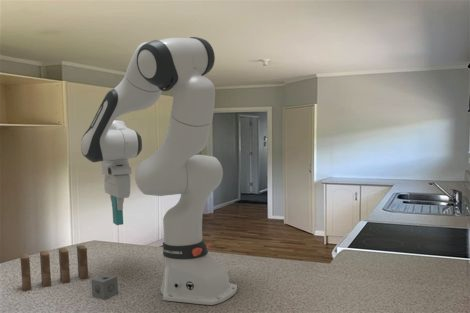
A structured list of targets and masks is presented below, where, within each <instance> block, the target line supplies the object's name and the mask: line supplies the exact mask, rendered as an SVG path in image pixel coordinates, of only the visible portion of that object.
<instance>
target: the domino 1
mask: <svg viewBox="0 0 470 313" xmlns="http://www.w3.org/2000/svg"><path fill="white" fill-rule="evenodd" d="M19 257H20V270H21V271H20V273H21V285H22V291H23V292H27V291H32V279H31V265H30V264H31V263H30V255H29V253H23V254H20V255H19Z"/></svg>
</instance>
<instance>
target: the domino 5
mask: <svg viewBox="0 0 470 313" xmlns="http://www.w3.org/2000/svg"><path fill="white" fill-rule="evenodd" d="M116 205H117V199H116V197H115V196H112V202H111V207H112V224H114V225H115V226H120V225H122V226H123V225H124V211H123V210H124V209H123V210H117V206H116Z"/></svg>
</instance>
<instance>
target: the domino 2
mask: <svg viewBox="0 0 470 313" xmlns="http://www.w3.org/2000/svg"><path fill="white" fill-rule="evenodd" d="M39 257H40V259H39V260H40V261H39V262H40V273H41V274H40V275H41V284H42V287H43V288H49V287H52V278H51V274H52V273H51V258H50V253H49V251H48V250H41V251H39Z"/></svg>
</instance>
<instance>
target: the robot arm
mask: <svg viewBox="0 0 470 313" xmlns="http://www.w3.org/2000/svg"><path fill="white" fill-rule="evenodd" d="M215 57H216V56H215V52H214V48H213V47H212V44H210V42H209V41H207V40H206V39H204V38H200V37H198V36H197V37H196V36H190V37H177V36H176V37H174V36H173V37H168V38H162V39H154V40H151V41H145V42H142V43H140V44H139V45H138V46H137V47H136V48H135V51H134V52H133V54H132V56H131V58H130V61H129V63H128V66H127V67H126V70H125V71H126V72H125V74H124V76H123V78H122V80H121V81H120V82H119V83H118V85H116V86H115V87H114V88H112V89H111V90H109V91H108V92H107V93H106V94H105V95H104V97H103V99H102V102H101V104H100V105H99V108H98V109H97V110H96V111H97V112H96V113H95V115H94V117H93V120H92V122H91V123H90V126H89V127H88V128H87V130H86V131H85V132H84V134H83V135H82V138H81V141H80V142H81V143H80V150H81V153H82V154H81V155H82V156H83V157H84V158H86V159H87V160H88V161H89V162H92V163H99V162H100V164H101V165H100V166H101V174H102V175H104V176H103V177H104V182H103V183H104V192H105V193H106V194H108V195H109V198H110V202H111V203H112V196H115V197H116V199H117V205H116V206H117V210H124V202H125V199H126V198H127V199H128V198H130V196H131V174H132V171H133V170H132V167H131V165H130V163H129V159H134V158H137V157H138V156H139V155H140V154H141V152H142V149H143V142H142V140H143V139H142V136H141V135H140V133H138V131H136V130H135V129H131V128H129V127H127V126H126V122H125V121H124V120H121V119H118V118H119V117H121V116H123V115H126V114H129V113H132V112H137V111H142V110H146V109H148V108H150V107H153V106H154V105H155V104H156V103H157V101H158V100H159V99H160V97H161V96H162V92H168V91H171V92H172V106H171V109H170V116H169V120H168V121H169V122H168V127H167V130H166V134H165V137H164V140H163V141H162V143H161V144H160V146H159V147H158V148H157V149H156V150H155V152H153V153H152V154H151V155H150V156H149V157H147V158H146V159H144V160H142V161H141V162H140V163H139V164H138V166H137V167H136V170H135V177H134V178H135V184H136V186H137V189H138V190H139V191H140V192H141V193H142V194H144V195H147V196H155V197H164V196H174V195H175V196H176V195H180V198H179V200H178V202H177V203H176V204H175V205H173V207H171V208H169V209H168V210H167V211H166V212H165V214H164V216H163V219H162V221H163V223H162V224H163V242H162V255H163V256H164V264H163V265H164V267H163V274H162V276H163V277H162V283H161V287H160V293H161V294H162V300H163V301H170V302H177V303H178V302H179V303H188V304H194V305H195V304H197V305H207V306H214V305H219V304H221V303H223V302H225V301H227V300H228V299H230V298H232V296H234V295H235V294H237V291H238V285H237V284H235V283H232V282H230V279H229V273H228V270H227V268H226V267H224V265H223V264H222V263H220V262H219V261H218V260H217V259H215V258H214V257H213V256H212V255H211V254H210V253H209V250H208V249H209V248H211V247H212V245H211V243H210V242H209V243H208V244H206V243H205V240H204V239H203V215H204V214H203V213H204V209H205V205H207V204H206V203H207V201H208V199H209V198H210V195H211V194H212V193H213V192H214V191H215V190H216V189H217V188H218V187H219V186H220V184H221V182H222V180H223V175H224V171H223V166H222V164H221V162H220V161H219V160H218V158H217V157H216V156H211V155H206V154H199V153H200V152H201V151H203V150H204V149H205V148H206V146H207V144H208V140H209V137H210V132H211V128H212V123H213V118H214V113H215V106H216V104H215V103H216V102H215V101H216V87H215V84H214V83H213V82H212V80H210V79H209V78H207V77H206V76H205V75H207V74H209V72H211V70H212V69H213V67H214V65H215V59H216V58H215Z"/></svg>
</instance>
